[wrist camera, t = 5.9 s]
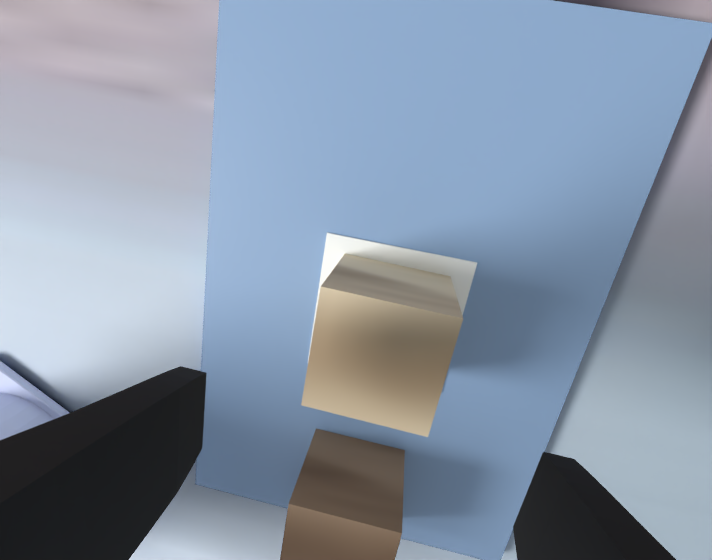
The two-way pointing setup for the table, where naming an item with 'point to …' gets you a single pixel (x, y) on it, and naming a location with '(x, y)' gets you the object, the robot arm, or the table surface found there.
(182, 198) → the table surface
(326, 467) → the walnut cube
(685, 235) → the table surface
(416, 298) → the maple cube
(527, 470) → the board
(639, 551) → the robot arm
